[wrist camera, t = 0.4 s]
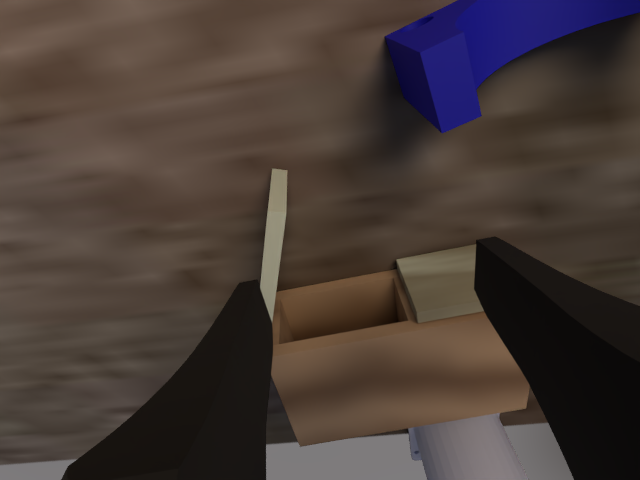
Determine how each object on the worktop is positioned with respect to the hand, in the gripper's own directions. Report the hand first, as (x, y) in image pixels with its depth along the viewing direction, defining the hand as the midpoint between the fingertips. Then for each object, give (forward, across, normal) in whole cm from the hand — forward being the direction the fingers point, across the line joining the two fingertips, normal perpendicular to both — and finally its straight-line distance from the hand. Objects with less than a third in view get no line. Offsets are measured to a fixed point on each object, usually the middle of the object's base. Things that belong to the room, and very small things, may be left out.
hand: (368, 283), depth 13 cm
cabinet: (+10, -2, +12) cm, 16 cm away
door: (+10, +4, +3) cm, 11 cm away
